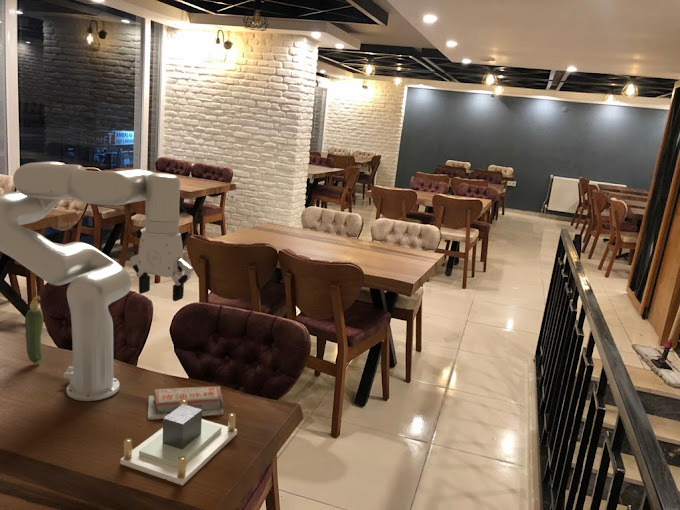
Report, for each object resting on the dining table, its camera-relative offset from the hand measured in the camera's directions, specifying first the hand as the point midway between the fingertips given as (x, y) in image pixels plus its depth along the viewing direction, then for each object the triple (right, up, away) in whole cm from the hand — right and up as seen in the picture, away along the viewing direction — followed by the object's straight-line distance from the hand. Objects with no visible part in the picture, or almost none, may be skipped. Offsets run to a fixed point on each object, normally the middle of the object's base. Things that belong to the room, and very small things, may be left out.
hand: (160, 295), depth 134 cm
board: (+9, -32, -12) cm, 35 cm away
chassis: (+9, -33, -12) cm, 36 cm away
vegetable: (-42, -21, +21) cm, 51 cm away
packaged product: (+4, -29, +5) cm, 30 cm away
